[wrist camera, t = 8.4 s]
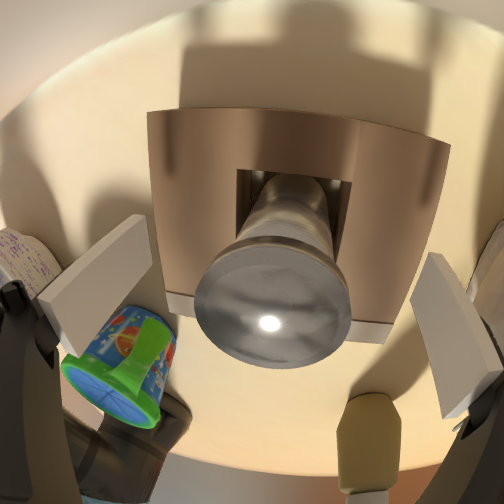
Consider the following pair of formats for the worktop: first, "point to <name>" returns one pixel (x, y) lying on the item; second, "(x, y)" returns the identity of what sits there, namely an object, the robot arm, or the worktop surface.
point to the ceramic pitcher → (490, 285)
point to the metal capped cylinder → (278, 282)
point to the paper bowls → (26, 261)
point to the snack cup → (125, 366)
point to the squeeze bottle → (368, 449)
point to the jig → (301, 163)
